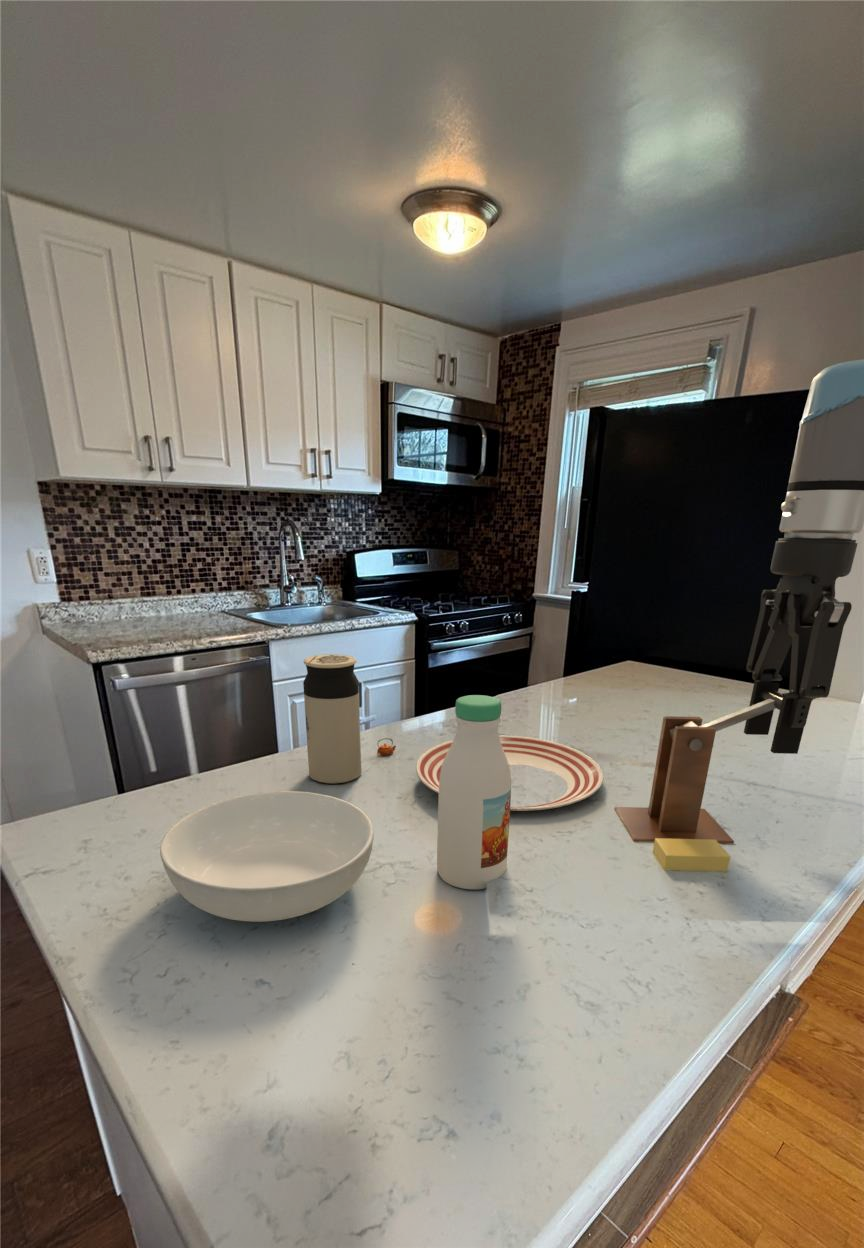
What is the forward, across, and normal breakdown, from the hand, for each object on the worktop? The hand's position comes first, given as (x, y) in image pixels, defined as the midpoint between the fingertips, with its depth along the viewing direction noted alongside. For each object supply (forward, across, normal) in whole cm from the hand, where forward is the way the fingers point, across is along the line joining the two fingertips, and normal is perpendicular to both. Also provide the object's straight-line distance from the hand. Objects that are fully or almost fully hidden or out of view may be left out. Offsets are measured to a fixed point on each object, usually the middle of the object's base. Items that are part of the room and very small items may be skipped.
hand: (769, 742), depth 73 cm
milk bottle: (+13, +10, -36) cm, 39 cm away
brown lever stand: (+12, 0, -10) cm, 16 cm away
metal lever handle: (-2, 0, -5) cm, 5 cm away
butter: (+13, +9, -11) cm, 19 cm away
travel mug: (+13, -17, -56) cm, 59 cm away
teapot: (+13, -27, -49) cm, 57 cm away
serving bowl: (+13, +15, -56) cm, 60 cm away
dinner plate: (+13, -15, -29) cm, 35 cm away
